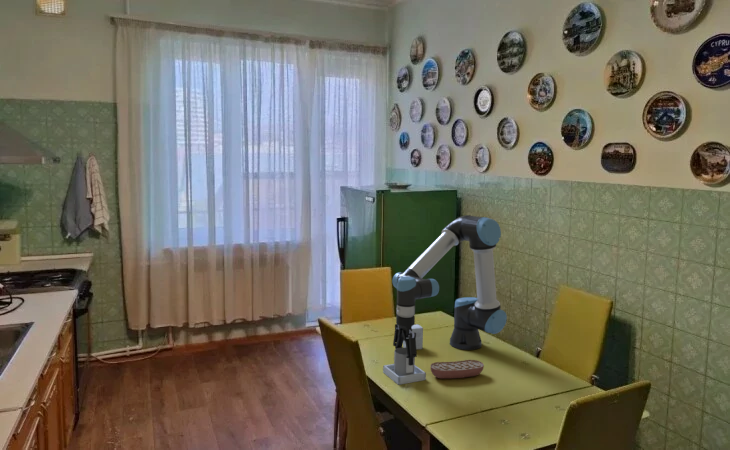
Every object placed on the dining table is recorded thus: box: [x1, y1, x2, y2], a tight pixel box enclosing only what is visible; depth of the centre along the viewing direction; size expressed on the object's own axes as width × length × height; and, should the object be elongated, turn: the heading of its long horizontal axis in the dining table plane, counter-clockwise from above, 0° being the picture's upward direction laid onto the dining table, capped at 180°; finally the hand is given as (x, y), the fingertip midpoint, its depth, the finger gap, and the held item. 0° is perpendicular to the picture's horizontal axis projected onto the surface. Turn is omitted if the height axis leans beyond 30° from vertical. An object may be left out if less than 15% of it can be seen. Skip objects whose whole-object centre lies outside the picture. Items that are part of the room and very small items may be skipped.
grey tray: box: [382, 363, 427, 386], centre depth 227 cm, size 13×14×3 cm
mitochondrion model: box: [430, 359, 485, 380], centre depth 228 cm, size 23×10×5 cm, turn 103°
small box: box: [402, 324, 424, 350], centre depth 260 cm, size 8×6×10 cm
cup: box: [393, 347, 416, 377], centre depth 226 cm, size 8×8×10 cm
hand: (404, 368), depth 227 cm, fingers open, 8 cm apart
